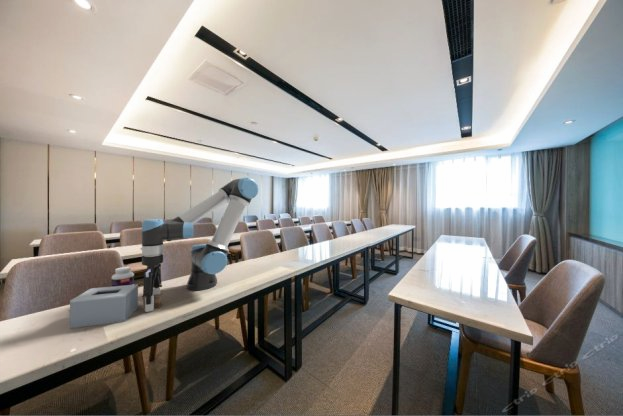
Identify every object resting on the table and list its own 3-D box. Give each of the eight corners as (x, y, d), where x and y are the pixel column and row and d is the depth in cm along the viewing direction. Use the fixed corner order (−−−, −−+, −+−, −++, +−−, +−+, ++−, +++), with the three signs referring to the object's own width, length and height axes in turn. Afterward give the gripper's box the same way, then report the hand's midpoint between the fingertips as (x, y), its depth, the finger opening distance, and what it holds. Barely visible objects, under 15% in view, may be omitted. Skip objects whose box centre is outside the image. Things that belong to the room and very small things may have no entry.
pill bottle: (120, 303, 97) (120, 271, 97) (106, 301, 99) (106, 270, 98) (138, 296, 105) (138, 266, 105) (124, 294, 106) (125, 265, 106)
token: (161, 305, 96) (161, 294, 96) (159, 307, 94) (159, 296, 94) (145, 307, 94) (145, 295, 94) (143, 309, 92) (143, 298, 92)
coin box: (137, 307, 94) (138, 284, 94) (124, 321, 83) (125, 295, 82) (90, 312, 88) (90, 288, 88) (69, 328, 77) (70, 300, 77)
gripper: (150, 250, 102) (151, 298, 102) (131, 261, 83) (132, 319, 83) (169, 249, 105) (169, 296, 105) (155, 259, 85) (155, 316, 86)
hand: (152, 306), depth 94 cm, fingers open, 8 cm apart
